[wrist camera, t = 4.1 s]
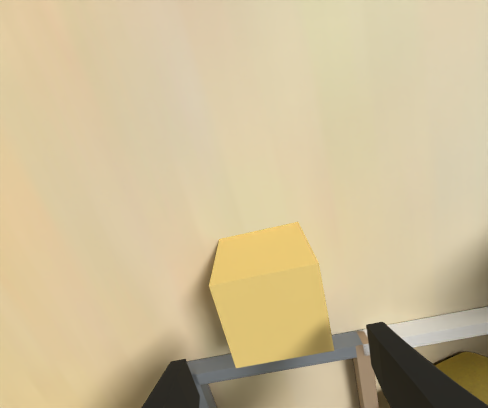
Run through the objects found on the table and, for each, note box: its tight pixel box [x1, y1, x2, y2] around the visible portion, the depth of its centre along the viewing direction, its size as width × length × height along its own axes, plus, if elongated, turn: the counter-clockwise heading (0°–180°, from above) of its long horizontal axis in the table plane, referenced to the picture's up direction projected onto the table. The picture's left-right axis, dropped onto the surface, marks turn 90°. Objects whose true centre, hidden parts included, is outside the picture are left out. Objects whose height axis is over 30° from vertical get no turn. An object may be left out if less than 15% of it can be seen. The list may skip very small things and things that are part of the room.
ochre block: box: [209, 222, 334, 368], centre depth 15 cm, size 5×5×5 cm
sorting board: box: [187, 307, 488, 408], centre depth 20 cm, size 25×13×1 cm, turn 104°
